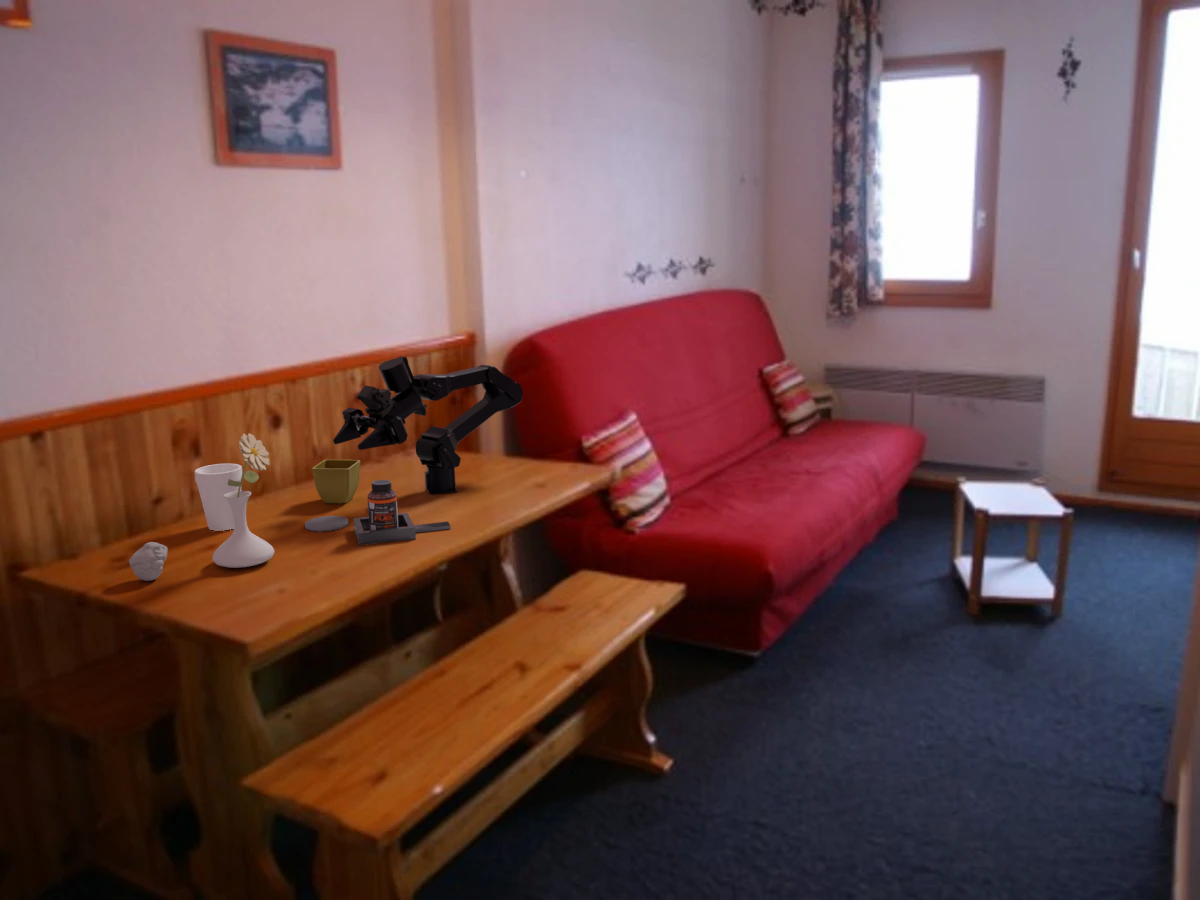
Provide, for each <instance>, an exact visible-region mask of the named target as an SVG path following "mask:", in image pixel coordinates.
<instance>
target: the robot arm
mask: <svg viewBox="0 0 1200 900" xmlns="http://www.w3.org/2000/svg"><path fill="white" fill-rule="evenodd" d="M378 370H379V372H380V375H381V377H382V380H383V382H384V384H385V385H386V388H382V389H380V388H377V387H375V386H371V385H363V387H362V388H361V389H360V391H359V392H358V394H357V395H356V398H357V400H358V401H359V400H360V401H361V402H362V404H364V405H365V406H366V408H364V409H365V412H366V414H367V415H368V416H367V415H365V414H364V412H363V410H362V409H358V408H354V407H347V408H345V409H344V410H343V411H342V417H343V420H344V423H343V424H342V427H341V428H340V429H339V431H338V432H337V434H336V436H335V437H334V438H333V440H332V442H333V445H339V444H343V443H345V442H349V441H352V440H355V439H359V438H362V436H363V435H365V434H367V433H368V432H369V428H370V429H373V431H372V432H371V433H370V434H368V435H367V436H366V437H365V438H364V439H363V440H361V442H359V444H358V445H357V448H358V450H359V451H364V450H367V449H374V448H379V447H387V446H391V445H393V446H395V445H396V444H397V445H402V444H403V443H405V442H406V441H407V439H408V436H409V435H408V432H407V429H406V427H405V424H407V423H406V419H407V418H409V417H410V416H411V415H413V414H415V415H417V416H421V417H422V416H423V417H426V415H427V407H428V406H427V404H425V403H423V400H426V401H433V402H437V401H439V400H441V399H442V400H443V398H445V397H448V396H449V395H450V394H451V393H452V392H455V391H457V390H461V389H465V388H469V387H474V386H477V385H482V388H483V390H485V392H484V395H483V398H482V399H480V400H479V401H477V402H476V403H475V404H474V405H473V406H471V407H470V408H468V409H467V410H466V411H465V412H463V413H462V414H460V416H458V417H456V419H454V420H453V421H452V422H450V423H449V424H448V425H446V426H445V427H438V426H431V427H429V428H428V429H427V430H426V431H425V432H424V433H420V434H419V436H420V437H419V438H418V439H417V440H416V442H415V453H416V456H417V458H418V459H419V461H420V464H421V465H422V466H426V471H424V485H425V486H424V487H425V489H426V491H427V492H428V493H429V495H441V494H442V495H443V494H451V493H457V492H458V489H457V487H456V470H455V469H456V468H458V467H459V466H460V464H461V456H459V455H458V454H457V453H456V449H457V446H458V444H459V443H460V442H461V441H462V440H464V439H465V438H466V437H467V436H468V435H469V434H471V433H472V432H473V431H475V430H476V429H477V428H479V427H480V426H481V425H483V424H484V423H485V422H486V421H488V420H489V419H491V418H492V417H493V416H494V415H496V413H498V412H501V411H506V410H509V409H511V408H513V407H516V406H517V405H519V404H520V403H521V402H522V401H523V396H524V392H523V391H524V390H523V387H522V385H521V384H520V383H518V382H515V381H514V380H513V379H512V378H510V377H509V376H508V375H506V374H504V373H503V372H501V371H500V370H499V368H497V367H496V366H494V365H491V364H490V365H489V364H480V365H477V366H475V367H470V368H466V369H461V370H457V371H453V372H449V373H445V374H441V373H440V374H435V373H418V374H416V375H414V374H413V372H412V369H411V366H410V365H409V361H408V358H407V356H404V355H403V356H402V355H401V356H398V357H397V358H391V359H389V360H386V361H383V362H382V363H380V364H379V365H378ZM392 392H393V393H394V396H392Z"/></svg>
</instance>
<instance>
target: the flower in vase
mask: <svg viewBox="0 0 1200 900" xmlns="http://www.w3.org/2000/svg"><path fill="white" fill-rule="evenodd" d="M238 444H239V445H238V448H239V450H240V454H241V455H242V459H243V460H244V461H245V462H244V464H243V468H242V477H241V481H240V482H237V481H233V480H231V479H229V480H228V485H229V486H236V487H238V486H239V489H238V491H234V492H229V493H226V494H225V495H224V498H225V499H226V500H227V501H228V502H229V504H230V506H231V509H232V513H233V517H234V530H232V531H233V532H232V533H231V535H230V536H229V537H228V538H227V539H226V540H225V541H224V542H223V543H221V545H219V546H218V547H217V548H216V550H215V551H214V552H213V554H212V558H211V559H212V562H213V563H215V564H216V565H217V566H221V567H223V568H224V567H225V568H233V569H240V568H247V567H252V566H257V565H259V564H262V563H265V562H267V561H269V560H270V559H271V558H272V557H273V556H274V554H275V551H276V550H275V549H274V547H273V546H272V545H271V544H270V543H269V542H268V541H266V540H265V539H262V538H261V537H259V536H257V535H255V534H254V533H252V531H250V529H249V527H248V523H247V504H248V500H249V498H250V496H251V495H252V492H251V491H249V490H242V486H243V480H245V481H246V482H248V483H249V484H255V483H257V481H259V478H260V476H259V474H258V473H257V472H255V471H252V470H246V467H247V465H249V466H250V467H251V469H253V470H254V469H255V470H257V471H266V470H267V467H266V466H270V461H271V460H270V459H269V457H268V456H270V453H269V452H268V450H266V447H265V446H264V445H263V442H262V440H261V439H260V440H259V439H256V437H255V435H254V434H251V433H248V434H245V433H243V434H242V436H240V439H239V440H238ZM240 489H241V491H240Z"/></svg>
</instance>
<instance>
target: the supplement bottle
mask: <svg viewBox="0 0 1200 900" xmlns="http://www.w3.org/2000/svg"><path fill="white" fill-rule="evenodd" d="M397 497H398V495H397V493H396V491H395V490H393V489H392V481H391V480H389V479H378V480H373V481H372V482H371V490H370V492H368V494H367V510H368V517H369V530H368V531H371V530H380V529H389V528H398V527H399V526H398V514H399V513H398V512H399V511H398V500H397V499H398V498H397Z"/></svg>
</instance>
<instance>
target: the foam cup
mask: <svg viewBox="0 0 1200 900" xmlns="http://www.w3.org/2000/svg"><path fill="white" fill-rule="evenodd" d="M242 473H243V468H242V465H240V464H237V463H216V464H210V465H205V466H200V467H198V468H196V469H195V470H194V478H195V483H196V484H197V488H198V492H199V493H198V494H199V496H200V499H201V504H202V507H203V511H204V515H205V520H206V523H207V526H208V527H207V528H208V530H209V529H210V530H209V531H211V530H215V531H219V530H220V531H222V530H223V532H225V531H224V530H229V529H230V531H232V530H231V529H234V517H233V513H232V509H231V506H230V504H229V502H228V501H227V500H226V499H225V498H224V495H225V494H226V493H229V492H234V491H238V489H239V486H238V487H236V486H229V485H228V480H229V479H231V480H233V481H237V482H240V481H241V477H242ZM240 491H242V488H241V489H240ZM215 531H214V532H215Z"/></svg>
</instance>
